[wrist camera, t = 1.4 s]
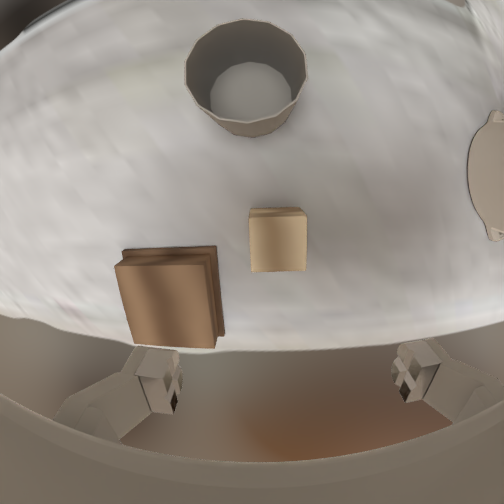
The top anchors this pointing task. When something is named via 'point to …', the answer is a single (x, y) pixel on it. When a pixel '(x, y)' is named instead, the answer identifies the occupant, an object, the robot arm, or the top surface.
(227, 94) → the cup
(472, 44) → the top surface
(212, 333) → the walnut pedestal
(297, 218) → the maple cube
